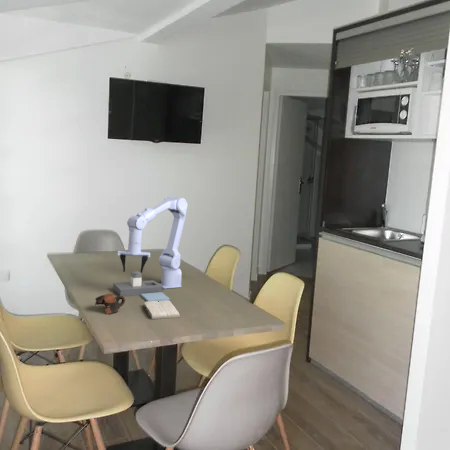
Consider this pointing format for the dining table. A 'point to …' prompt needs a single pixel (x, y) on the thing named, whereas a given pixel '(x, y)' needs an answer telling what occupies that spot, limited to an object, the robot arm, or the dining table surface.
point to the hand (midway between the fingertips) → (132, 271)
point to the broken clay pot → (110, 302)
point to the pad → (155, 297)
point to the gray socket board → (137, 288)
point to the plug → (136, 279)
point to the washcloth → (161, 309)
